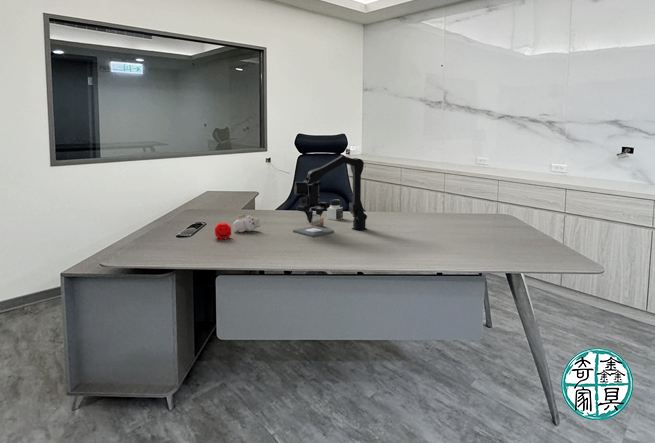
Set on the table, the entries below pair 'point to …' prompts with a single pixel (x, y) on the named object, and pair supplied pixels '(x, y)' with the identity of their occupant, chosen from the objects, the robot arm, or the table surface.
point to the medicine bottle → (335, 210)
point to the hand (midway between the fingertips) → (313, 222)
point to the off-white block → (314, 219)
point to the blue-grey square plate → (313, 231)
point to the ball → (222, 230)
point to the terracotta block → (320, 222)
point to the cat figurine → (245, 223)
